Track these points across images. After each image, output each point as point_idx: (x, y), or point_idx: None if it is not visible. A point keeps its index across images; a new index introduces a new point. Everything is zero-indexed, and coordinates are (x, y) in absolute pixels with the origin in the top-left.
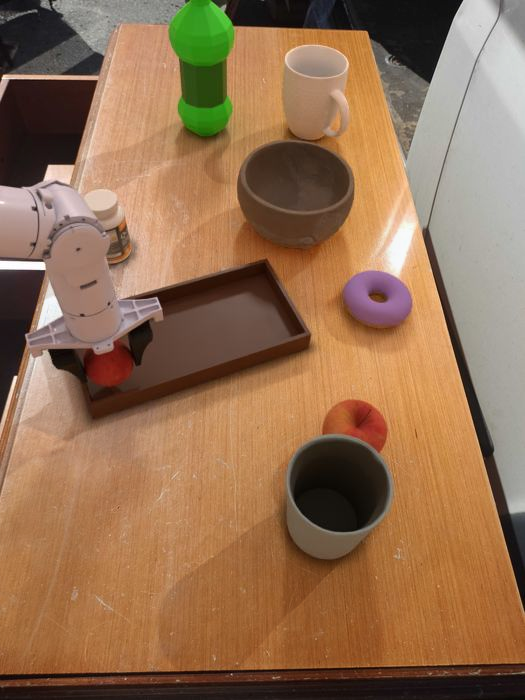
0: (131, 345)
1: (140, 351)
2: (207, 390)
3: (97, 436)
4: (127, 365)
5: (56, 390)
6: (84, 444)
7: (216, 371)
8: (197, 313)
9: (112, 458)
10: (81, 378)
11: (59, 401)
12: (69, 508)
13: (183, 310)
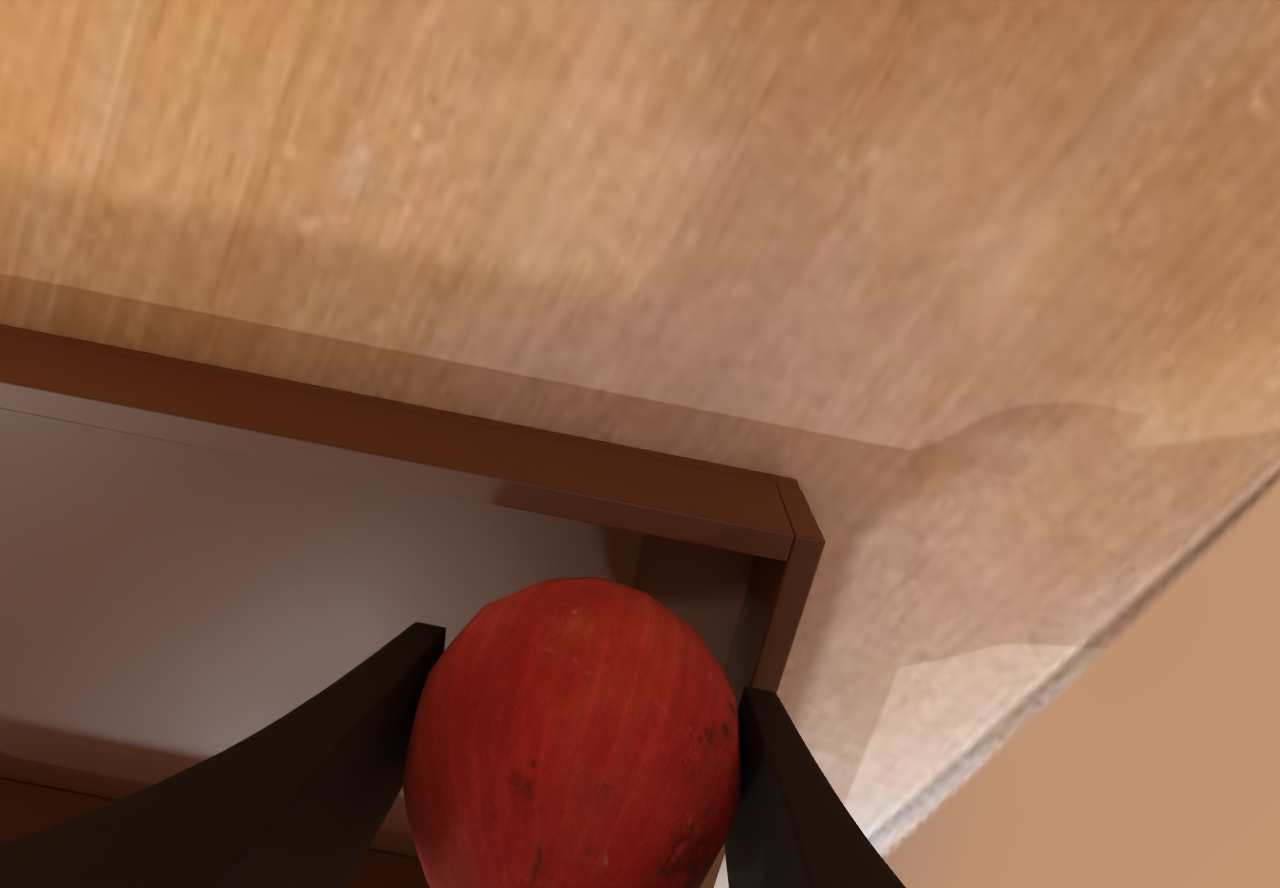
0: (358, 802)
1: (282, 743)
2: (197, 311)
3: (825, 383)
4: (462, 674)
5: (856, 696)
6: (904, 377)
7: (55, 362)
8: (107, 708)
9: (827, 214)
10: (788, 739)
11: (875, 644)
12: (1203, 44)
13: (167, 751)
